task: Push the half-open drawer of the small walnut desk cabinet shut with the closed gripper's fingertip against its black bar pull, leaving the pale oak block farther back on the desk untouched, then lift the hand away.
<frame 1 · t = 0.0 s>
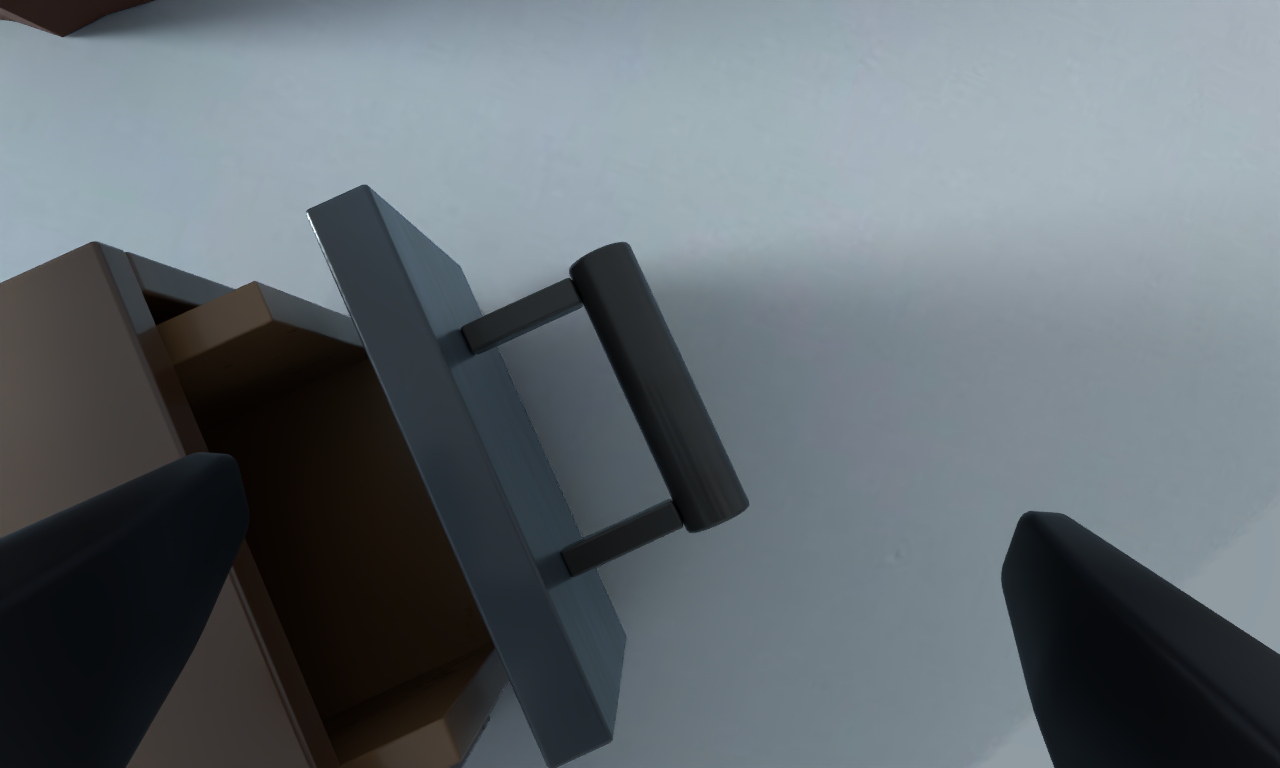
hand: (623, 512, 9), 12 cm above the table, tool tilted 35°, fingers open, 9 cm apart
cabinet: (166, 622, 21), on the table
drawer: (334, 536, 17), point 4 cm above the table, slide at 3.0 cm
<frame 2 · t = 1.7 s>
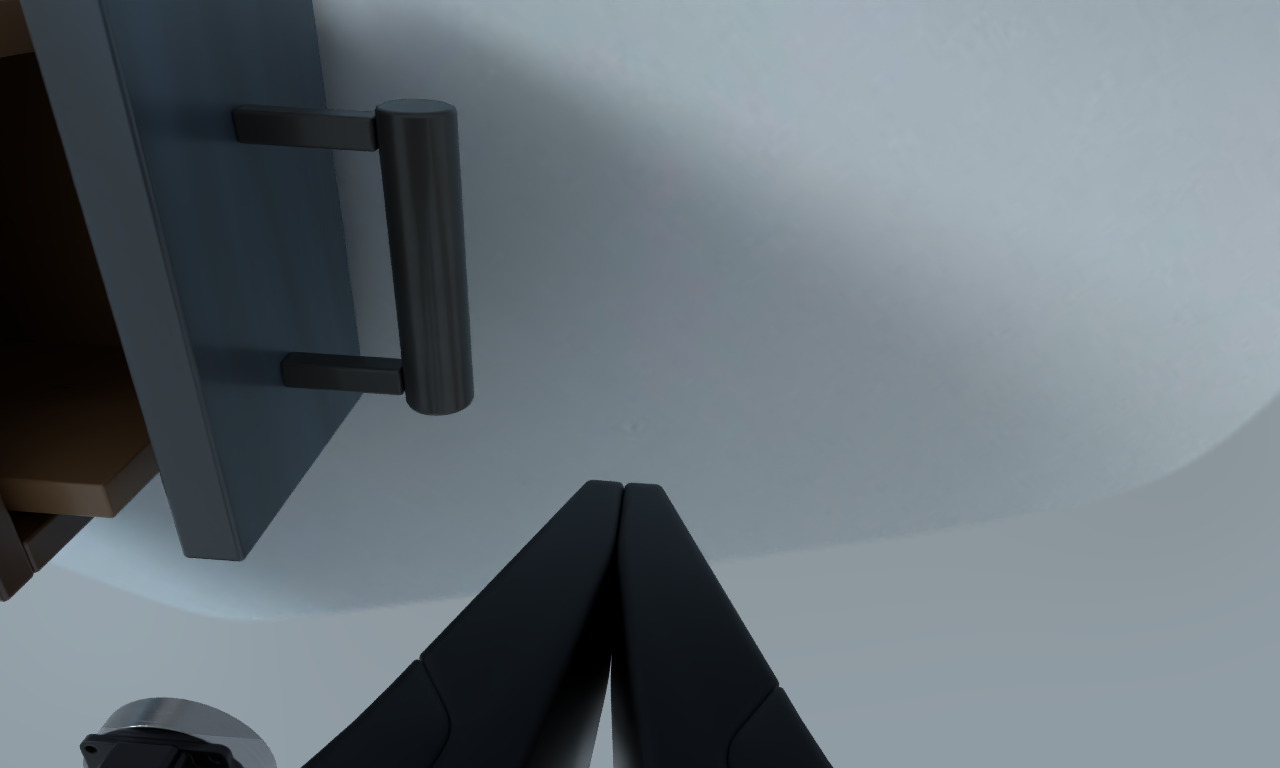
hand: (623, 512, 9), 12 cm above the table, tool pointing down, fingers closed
drawer: (64, 234, 16), point 4 cm above the table, slide at 3.0 cm
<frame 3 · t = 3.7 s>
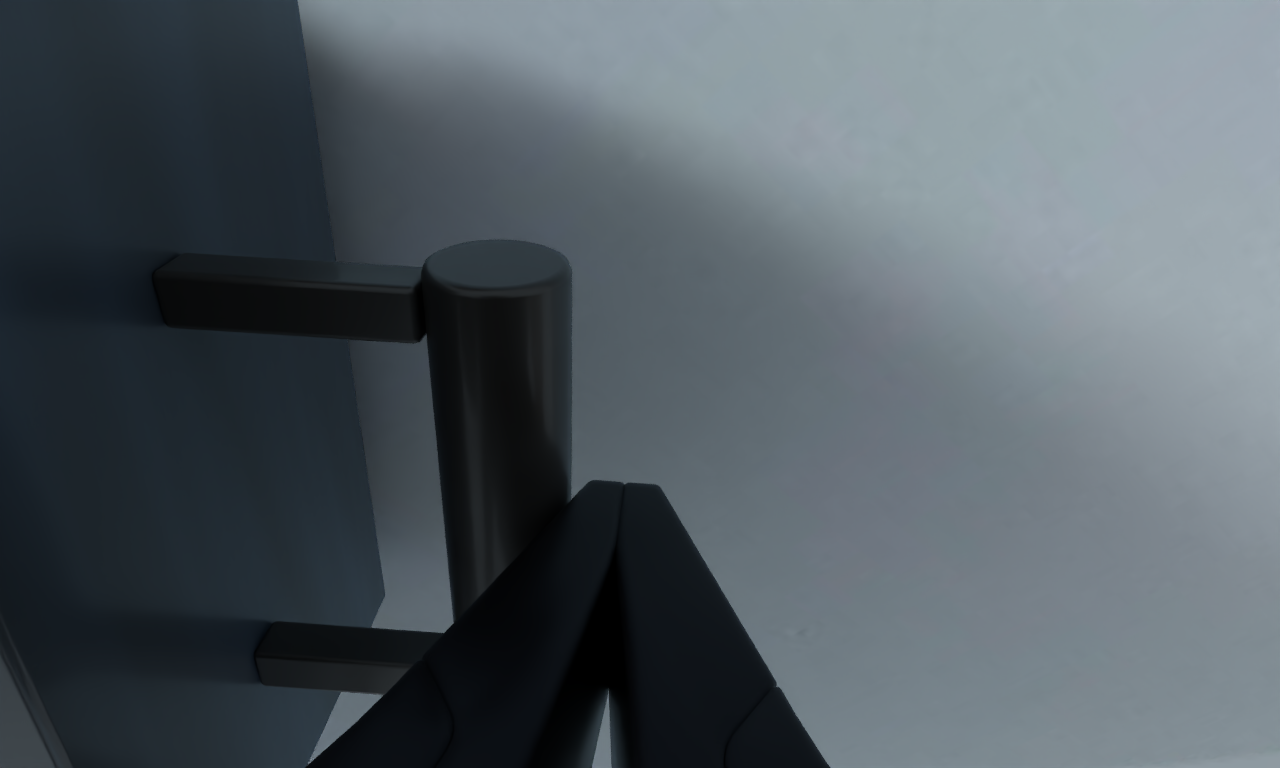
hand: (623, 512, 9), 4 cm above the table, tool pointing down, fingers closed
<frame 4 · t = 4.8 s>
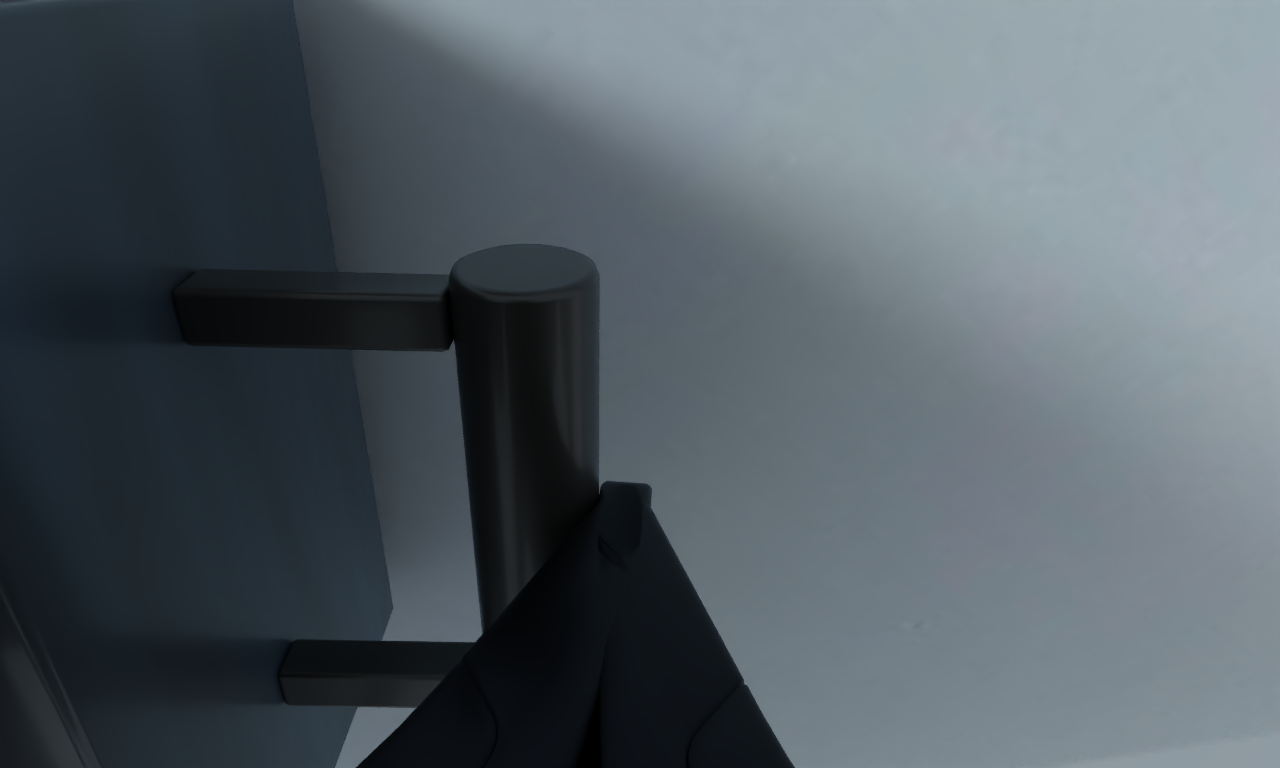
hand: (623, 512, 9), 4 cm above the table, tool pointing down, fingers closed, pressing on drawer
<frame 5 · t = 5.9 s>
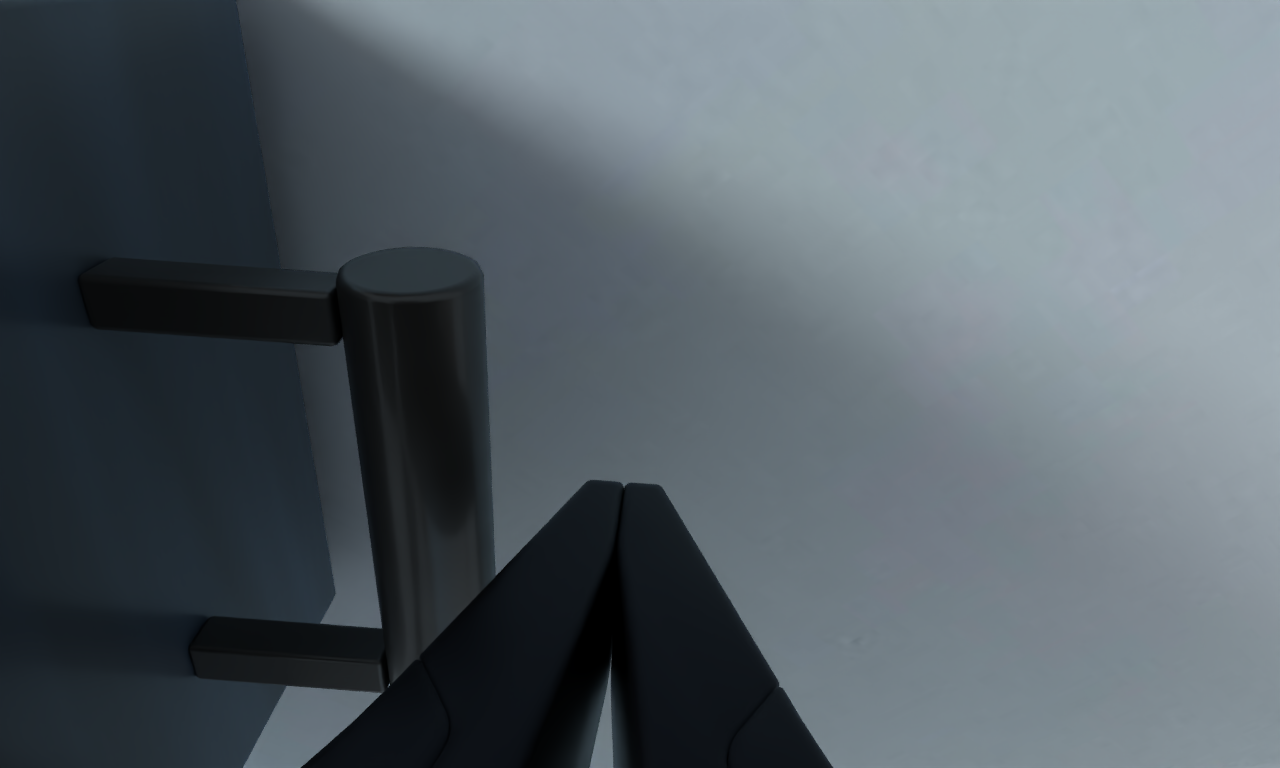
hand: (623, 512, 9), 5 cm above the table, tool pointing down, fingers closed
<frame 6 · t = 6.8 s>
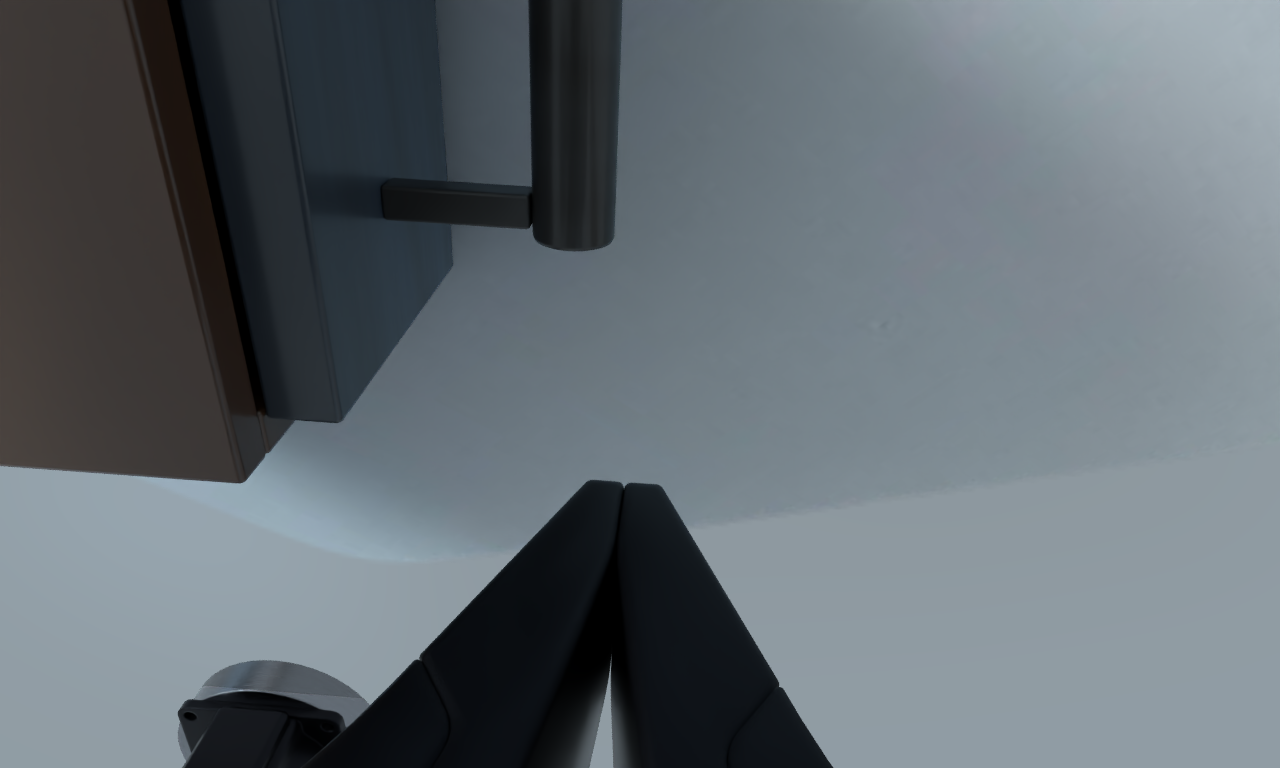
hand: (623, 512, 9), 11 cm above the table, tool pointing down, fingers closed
drawer: (114, 21, 13), point 4 cm above the table, slide at 0.0 cm, touching cabinet
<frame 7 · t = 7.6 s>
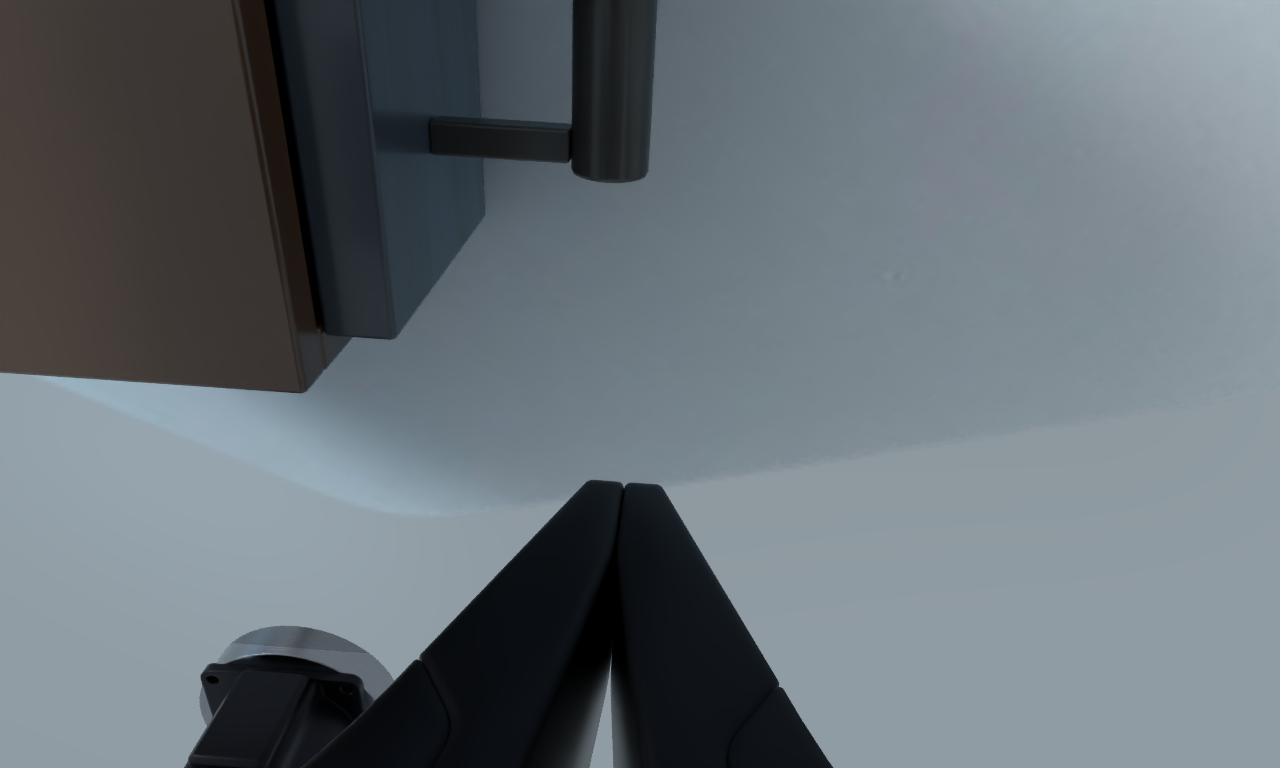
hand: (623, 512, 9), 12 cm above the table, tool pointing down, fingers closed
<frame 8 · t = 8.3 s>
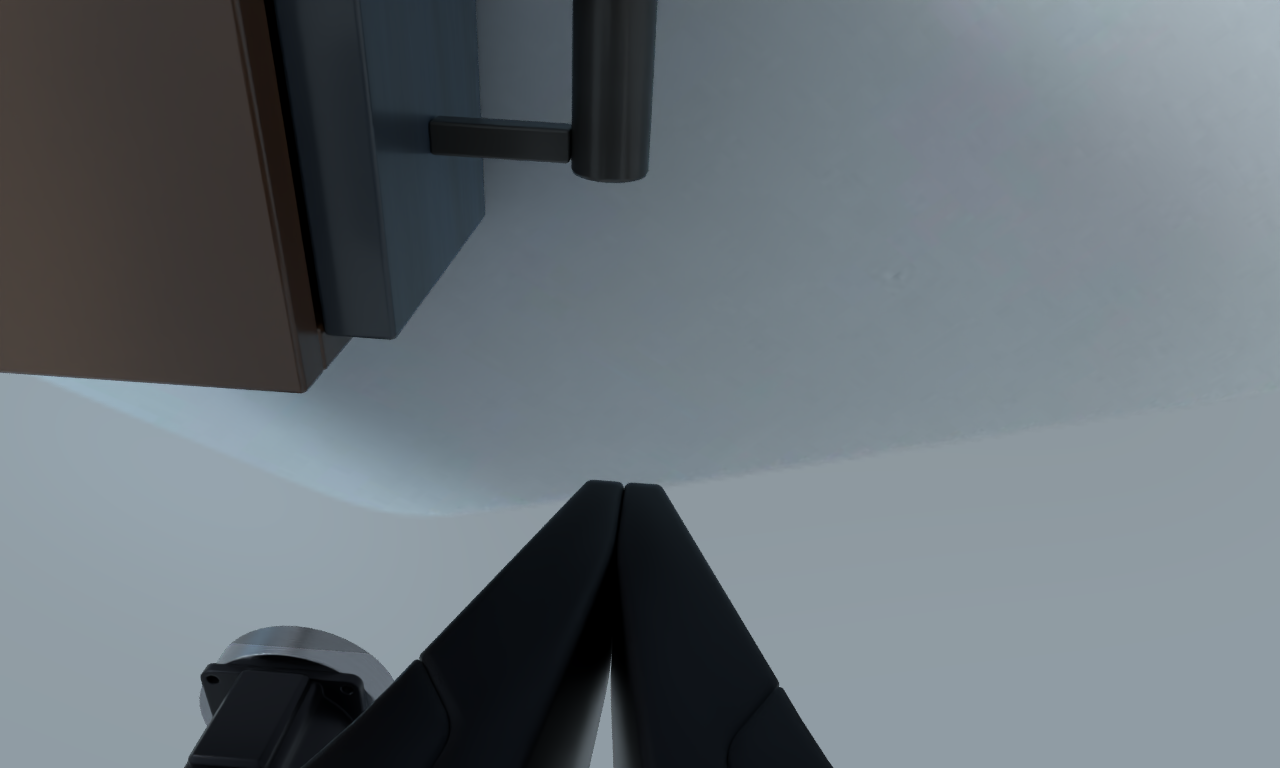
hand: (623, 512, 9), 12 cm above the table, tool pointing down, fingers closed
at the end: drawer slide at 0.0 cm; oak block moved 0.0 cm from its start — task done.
